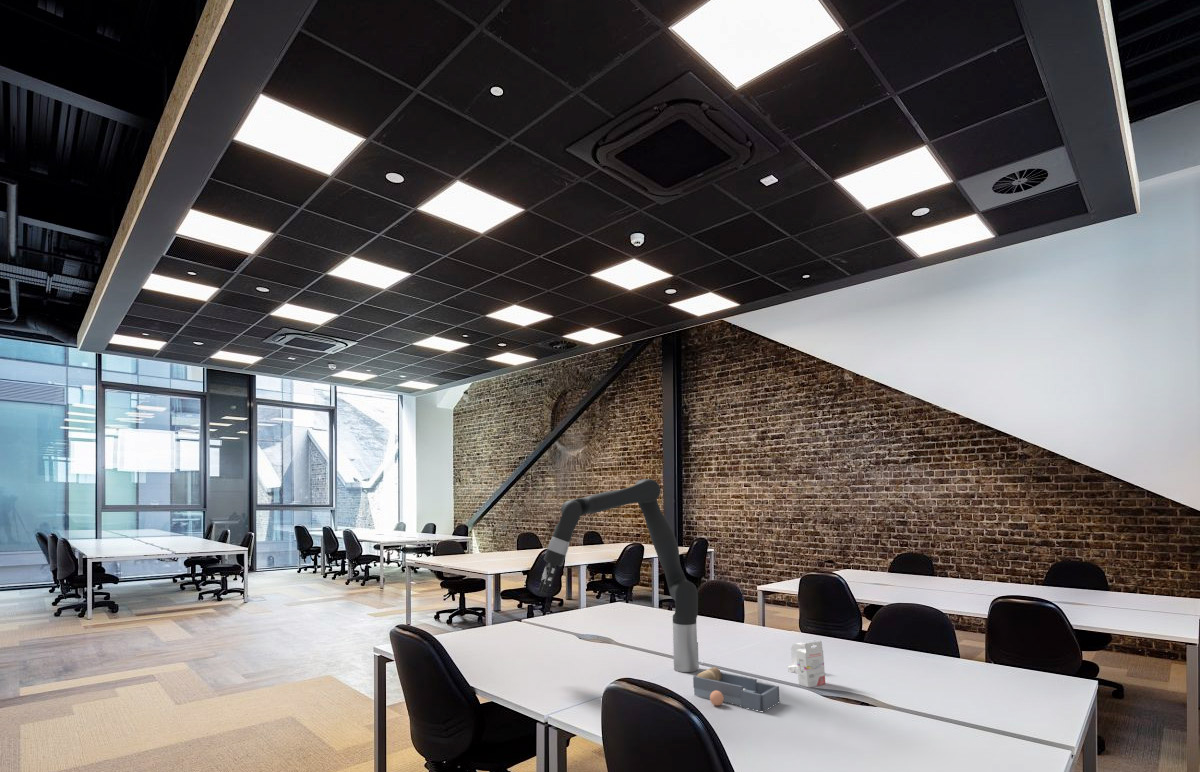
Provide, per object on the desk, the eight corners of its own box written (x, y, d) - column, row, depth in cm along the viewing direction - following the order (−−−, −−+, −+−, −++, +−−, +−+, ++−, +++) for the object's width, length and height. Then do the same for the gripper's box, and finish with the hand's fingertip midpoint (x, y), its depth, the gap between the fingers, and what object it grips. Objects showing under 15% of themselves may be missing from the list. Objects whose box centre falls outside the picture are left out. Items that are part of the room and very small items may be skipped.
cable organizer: (813, 669, 242) (812, 642, 244) (799, 674, 235) (798, 646, 237) (801, 666, 246) (799, 639, 247) (787, 671, 239) (785, 644, 241)
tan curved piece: (709, 681, 220) (709, 666, 221) (722, 684, 217) (721, 668, 217) (696, 687, 213) (696, 671, 214) (709, 690, 210) (708, 674, 211)
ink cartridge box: (815, 680, 228) (812, 638, 230) (825, 684, 224) (823, 640, 226) (797, 684, 224) (795, 640, 226) (808, 688, 220) (805, 643, 222)
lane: (711, 687, 221) (710, 669, 222) (779, 702, 205) (778, 683, 206) (692, 696, 212) (692, 677, 213) (763, 712, 196) (762, 692, 197)
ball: (714, 702, 206) (714, 687, 206) (726, 705, 203) (726, 690, 204) (707, 705, 202) (707, 691, 203) (719, 708, 200) (719, 693, 200)
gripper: (568, 556, 233) (553, 599, 229) (563, 552, 246) (549, 593, 243) (549, 549, 232) (534, 593, 228) (545, 546, 246) (531, 587, 242)
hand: (542, 593), depth 235 cm, fingers open, 8 cm apart
